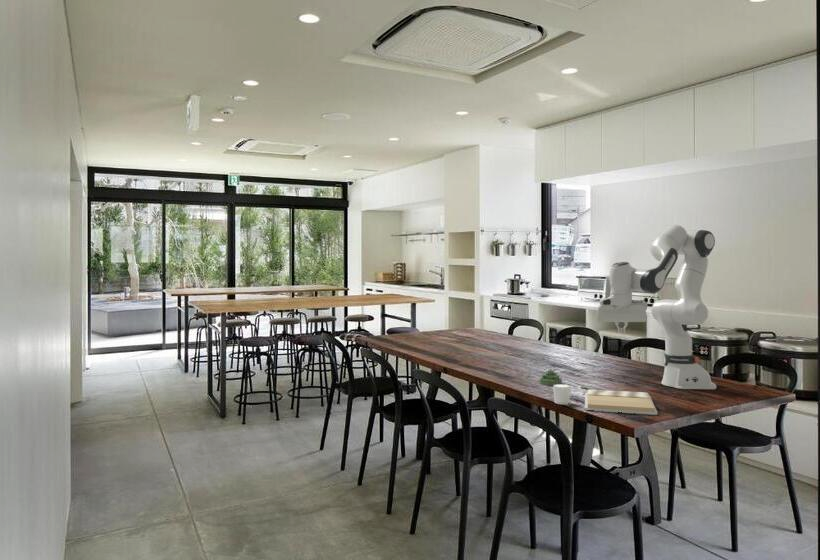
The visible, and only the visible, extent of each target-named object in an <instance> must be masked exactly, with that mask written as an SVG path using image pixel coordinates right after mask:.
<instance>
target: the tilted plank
mask: <svg viewBox="0 0 820 560" xmlns="http://www.w3.org/2000/svg"><path fill="white" fill-rule="evenodd" d="M586 393H587V398H588V395H594V396H612V397H630V398H648V399H650V397H651V395H650V394H649V392H643V391H627V390H626V391H625V390H609V389H608V390H606V389H587V392H586Z"/></svg>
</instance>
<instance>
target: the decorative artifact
mask: <svg viewBox="0 0 820 560" xmlns="http://www.w3.org/2000/svg"><path fill="white" fill-rule="evenodd" d="M539 384H541V385H542V384H543V385H542V386H547V385H549V386H550V387H553V385H556V384H563V379H562V377H561V376H559V375H558V373H557V372H554V370H552V368H550V369H549V370H547V372H545V373H544V374H543V373H542V374H541V376H539Z"/></svg>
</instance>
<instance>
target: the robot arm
mask: <svg viewBox="0 0 820 560" xmlns="http://www.w3.org/2000/svg"><path fill="white" fill-rule="evenodd" d="M715 245H716V238H715V236H714V234H713V233H712V232H711V231H709V230H705V229H700V230H696V229H694V230H686V229H685V228H684V227H683V226H681V225H678V224H673V225H671V226H669V227H667V228H665V229H664V230H662V232H660V233H659V234H658V235H657V237H655V239H654V240H653V241H652V242H651V244H650V248H649V249H650V253H651V255H652V256H653V257H654V259H655V260H657V261H658V263H657V264H656V266H655V267H654V268H647V269H641V268H635V267H634V266H631V264H630V262H628V261H620V262H615V263H613V264H612V265H611V267H610V270H609V285H610V292H609V296H608V297H607V296H606V297H603V298H600V299H599V305H598V307H597V310H596V311H597V312H596V321H597V322H598V323H614V325H615V326H616V327H617V332H618V333H626V329H627V327H628V325H629V323H646V322H647V319H648V317H647V316H648V315H647V309H648V303H647V301H644V300H643V299H639V300H638V299H633V292H640V293H641V292H642V293H650V294H657V293H658V292H660V291H661V290H662V289H663V287H664V285H665V282H666V280H667V277H668V276H669V274H670V272H671V271H672V270H673V268H674V267H675V264H676V263H677V261H678V258H679V255H682V256H683V255H684V259H683V262H682V263H681V265H680V268H679V271H678V273H677V277H676V279H675V282H674V288H675V290H676V291H677V292H678V293H679V294H680V298H679V299H669V298H668V299H667V298H665V299H661V300H656V301H655V302H654V303H653V304H652V306H651V316H652V318H653V319H654V320H655V321H657V323H658V324H659V326H660V328H661V329H662V331H663V335H664V343H665V345H664V346H665V349H664V350H665V352H664V355H663V365H664V370H663V376H662V379H661V384H662V385H663V386H667V387H672V388H675V389H678V390H679V389H680V390H716V389H717V385H716V383H714V381H713V382H712V379H711V375H710V373H709V372H708V371H707V370H706V369H705V368H703V367H702V366H701V365H699V364H698V363H697V362H699V361H700V358H699V356H696V355H694V354H693V339H692V337H691V336H692V335H690V334H689V333H687V332H686V331H685V330H684V328H683V325H685V326H686V325H687V326H698V325H703V324H705V322H706V321H707V319H708V316H709V311H708V308H707V306H706V304H704V302H703V300H702V298H701V292H702V288H703V284H704V281H705V277H706V274H707V270H708V264H709V260H708V256H709V255H710V254H711V253H712V251H713V249H714V247H715ZM620 323H623V324H624V326H623V327H620V326H619V325H620Z"/></svg>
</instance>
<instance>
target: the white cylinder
mask: <svg viewBox="0 0 820 560" xmlns="http://www.w3.org/2000/svg"><path fill="white" fill-rule="evenodd" d="M552 387H553V388H552V389H553V397H554V403H555V404H557V405H569V404H570V396H571V385H569V384H564V383H562V384H556V385H553V386H552ZM568 403H569V404H568Z"/></svg>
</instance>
